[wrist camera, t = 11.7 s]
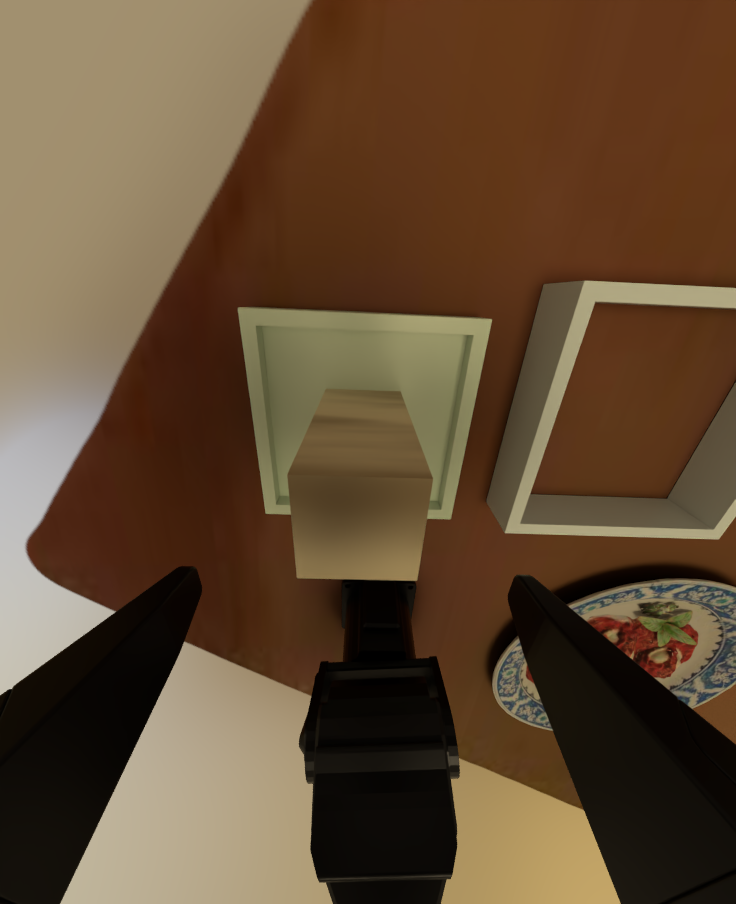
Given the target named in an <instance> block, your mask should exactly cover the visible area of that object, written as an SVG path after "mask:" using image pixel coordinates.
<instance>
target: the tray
mask: <svg viewBox="0 0 736 904" xmlns="http://www.w3.org/2000/svg"><path fill="white" fill-rule="evenodd" d="M238 314H239V322H240V329H241V336H242V344H243V351H244V358H245V366H246V373H247V380H248V388H249V395H250V402H251V410H252V417H253V424H254V432H255V439H256V446H257V454H258V461H259V468H260V476H261V483H262V490H263V498H264V505H265V512H266V514H290V515H291V510H290V499H289V488H288V478H287V474H288V472H289V469H290V467H291V465H292V463H293V461H294V458H295V456H296V454H297V452H298V449H299V447H300V445H301V443H302V441H303V438H304V436H305V434H306V432H307V429H308V427H309V425H310V423H311V421H312V418H313V416H314V414H315V412H316V410H317V407H318V405H319V403H320V401H321V398H322V396H323V394H324V392H325V390H326V389H348V390H376V391H401V394H402V397H403V399H404V402H405V405H406V407H407V410H408V413H409V415H410V418H411V421H412V423H413V426H414V429H415V431H416V434H417V437H418V439H419V442H420V445H421V447H422V450H423V453H424V456H425V458H426V461H427V464H428V466H429V469H430V472H431V474H432V477H433V483H432V490H431V496H430V502H429V509H428V515H427V519H451V516H452V511H453V506H454V501H455V496H456V491H457V487H458V482H459V477H460V472H461V467H462V462H463V458H464V453H465V448H466V443H467V438H468V433H469V429H470V424H471V419H472V414H473V409H474V405H475V400H476V395H477V390H478V385H479V380H480V376H481V371H482V366H483V361H484V356H485V351H486V347H487V342H488V337H489V332H490V327H491V323H492V319H487V318H481V317H463V316H442V315H420V314H398V313H376V312H355V311H333V310H311V309H290V308H268V307H239V308H238Z"/></svg>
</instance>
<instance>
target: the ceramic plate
mask: <svg viewBox="0 0 736 904" xmlns="http://www.w3.org/2000/svg"><path fill="white" fill-rule="evenodd" d="M566 605H568V606H569V607H570V608H571V609H572V610H574V611H575V612H576V613H577V614H578V615H580V616H581V617H582V618H583V619H584V620H586V621H587V622H588V623H589V624H590V625H592V626H593V627H594V628H595V629H596V630H598V631H599V632H600V633H601V634H602V635H604V636H605V637H606V638H607V639H608V640H610V641H611V642H612V643H613V644H614V645H616V646H617V647H618V648H619V649H620V650H622V651H623V652H624V653H625V654H626V655H628V656H629V657H630V658H631V659H633V660H634V661H635V662H636V663H637V664H639V665H640V666H641V667H642V668H643V669H645V670H646V671H647V672H648V673H649V674H651V675H652V676H653V677H654V678H655V679H657V680H658V681H659V682H660V683H661V684H663V685H664V686H665V687H666V688H667V689H669V690H670V691H671V692H672V693H673V694H675V695H676V696H677V698H678V700H682V701H683V702H684V703H686V704H687V705H688V706H689V707H690V708H694V707H697V706H699V705H701V704H703V703H706V702H708V701H709V700H711V699H713V698H714V697H716V696H718V695H719V694H721V693H722V692H724V691H726V690H727V689H729V688H731V687H732V686H733V685H734V684H736V587H734V586H731V585H727V584H724V583H720V582H715V581H710V580H701V579H684V578H676V579H658V580H651V581H644V582H638V583H631V584H626V585H622V586H618V587H614V588H611V589H607V590H604V591H600V592H596V593H593V594H591V595H588V596H586V597H583V598H581V599H578V600H576V601H574V602H571V603H569V604H566ZM492 686H493V692H494V695H495V698H496V700H497V702H498V703H499V705H500V706H501V707H502V708H503V709H504V710H505V711H506V712H507V713H508V714H509V715H511V716H512V717H514V718H516V719H518V720H520V721H522V722H524V723H526V724H529V725H531V726H535V727H539V728H543V729H547V730H552V727H551V725H550V722H549V720H548V717H547V714H546V712H545V709H544V707H543V704H542V702H541V699H540V697H539V694H538V692H537V689H536V687H535V684H534V681H533V679H532V676H531V674H530V671H529V669H528V666H527V663H526V661H525V657H524V654H523V651H522V648H521V644H520V641H519V637H518V636H517V637H516V638H515V639H514V640H513V641H512V642H511V643H510V644H509V646H508V647H507V648H506V649H505V651H504V652H503V653H502V655H501V656H500V658H499V660H498V662H497V664H496V666H495V669H494V672H493V678H492ZM552 731H553V730H552Z"/></svg>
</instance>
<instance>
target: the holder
mask: <svg viewBox="0 0 736 904" xmlns="http://www.w3.org/2000/svg"><path fill="white" fill-rule="evenodd" d="M595 303H604V304H625V305H646V306H667V307H688V308H709V309H730V310H736V288H723V287H703V286H682V285H662V284H642V283H622V282H601V281H575V282H563V283H551V284H544V285H543V288H542V292H541V296H540V300H539V304H538V307H537V311H536V315H535V319H534V322H533V326H532V330H531V334H530V338H529V341H528V345H527V349H526V353H525V356H524V360H523V364H522V368H521V372H520V375H519V379H518V383H517V387H516V391H515V394H514V398H513V402H512V406H511V409H510V413H509V417H508V421H507V425H506V428H505V432H504V436H503V440H502V443H501V447H500V451H499V455H498V459H497V462H496V466H495V470H494V474H493V477H492V481H491V485H490V489H489V493H488V496H487V500H486V502H487V504H488V506H489V507H490V509H491V511H492V512H493V514H494V516H495V517H496V519H497V521H498V523H499V524H500V526H501V528H502V529H503V531H504V533H521V534H555V535H589V536H623V537H658V538H692V539H719V538H720V537H721V536H722V534H723V533H724V531H725V530H726V529H727V527H728V526H729V525H730V523H731V522H732V521H733V519H734V518H735V516H736V382H735V384H734V386H733V387H732V389H731V391H730V392H729V394H728V396H727V397H726V399H725V401H724V403H723V404H722V406H721V408H720V409H719V411H718V413H717V414H716V416H715V418H714V420H713V421H712V423H711V425H710V426H709V428H708V430H707V431H706V433H705V435H704V437H703V438H702V440H701V442H700V443H699V445H698V447H697V448H696V450H695V452H694V454H693V455H692V457H691V459H690V460H689V462H688V464H687V465H686V467H685V469H684V471H683V472H682V474H681V476H680V477H679V479H678V481H677V482H676V484H675V486H674V488H673V489H672V491H671V493H670V494H669V496H668V498H667V499H661V498H630V497H599V496H568V495H537V494H530V493H531V490H532V487H533V484H534V481H535V478H536V475H537V472H538V469H539V466H540V463H541V460H542V457H543V454H544V451H545V448H546V445H547V442H548V440H549V437H550V434H551V431H552V428H553V425H554V422H555V419H556V416H557V413H558V410H559V407H560V404H561V401H562V398H563V395H564V392H565V389H566V386H567V383H568V381H569V378H570V375H571V372H572V369H573V366H574V363H575V360H576V357H577V354H578V351H579V348H580V345H581V342H582V339H583V336H584V333H585V330H586V327H587V325H588V322H589V319H590V316H591V313H592V310H593V307H594V304H595Z"/></svg>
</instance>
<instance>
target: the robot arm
mask: <svg viewBox="0 0 736 904" xmlns="http://www.w3.org/2000/svg"><path fill="white" fill-rule="evenodd" d="M415 592H416V583H415V581H399V580H354V579H344V580H343V582H342V627H343V628H344V629H345V635H344V650H343V662H332V663H328V661H322V662H321V663H320V668H319V672H318V673H317V674H316V676H315V683H314V687H313V692H312V697H311V701H310V706H309V711H308V714H307V717H306V720H305V723H304V726H303V728H302V732H301V734H300V739H299V747H300V749H301V751H302V752H303V754H304V761H305V774H306V780H307V783H308V784H311V783H312V784H313V802H312V827H311V854H312V858H313V863H314V867H315V870H316V875H317V878H318V880H319V882H326V884H327V887H328V890H329V893H330V896H331V899H332V902H333V904H441V900H442V896H443V892H444V887H445V883H446V879H451V877H452V873H453V868H454V862H455V856H456V850H457V838H456V837H457V823H456V816H455V809H454V801H453V793H452V786H451V779H455V778H459V774H460V772H459V771H460V769H459V756H458V748H457V741H456V734H455V729H454V723H453V718H452V714H451V710H450V706H449V702H448V698H447V694H446V691H445V687H444V683H443V679H442V675H441V671H440V668H439V664H438V660H437V657H436V656H431V657H429V658H419V659H416V655H415V648H414V640H413V633H412V626H411V616H412V610H413V604H414V598H415ZM201 593H202V585H201V581H200V578H199V575H198V571H197V569H196V568H195V567H193V566H181V567H178V568H176V569H175V570H173V571H172V572H171V573H169V574H168V575H166V576H165V577H164V578H162V579H161V580H160V581H158V582H157V583H155V584H154V585H153V586H151V587H150V588H148V589H147V590H146V591H144V592H143V593H142V594H140V595H139V596H137V597H136V598H135V599H133V600H132V601H130V602H129V603H128V604H126V605H125V606H124V607H122V608H121V609H119V610H118V611H117V612H115V613H114V614H113V615H111V616H110V617H108V618H107V619H106V620H104V621H103V622H101V623H100V624H99V625H97V626H96V627H95V628H93V629H92V630H91V631H89V632H88V633H86V634H85V635H83V636H82V637H81V638H80V639H78V640H77V641H75V642H74V643H72V644H71V645H70V646H68V647H67V648H66V649H64V650H63V651H61V652H60V653H59V654H57V655H56V656H54V657H53V658H52V659H50V660H49V661H48V662H46V663H45V664H44V665H42V666H41V667H39V668H38V669H37V670H35V671H34V672H32V673H31V674H29V675H28V676H27V677H25V678H24V679H23V680H21V681H20V682H19V683H17V684H16V685H15V686H14V687H13V688H12V689H9V690H7V691H6V692H4V693H3V694H2V695H0V904H60V903H61V900H62V899H63V896H64V894H65V892H66V890H67V888H68V886H69V884H70V882H71V880H72V878H73V876H74V873H75V871H76V869H77V867H78V865H79V863H80V861H81V859H82V857H83V855H84V853H85V850H86V848H87V846H88V844H89V842H90V840H91V838H92V836H93V834H94V832H95V829H96V827H97V825H98V823H99V821H100V819H101V817H102V815H103V813H104V811H105V809H106V806H107V804H108V802H109V800H110V798H111V796H112V794H113V792H114V789H115V788H116V786H117V784H118V781H119V779H120V777H121V775H122V773H123V771H124V769H125V767H126V765H127V762H128V760H129V758H130V756H131V754H132V752H133V750H134V748H135V746H136V744H137V742H138V740H139V737H140V735H141V733H142V731H143V729H144V727H145V725H146V723H147V721H148V719H149V717H150V714H151V712H152V710H153V708H154V706H155V704H156V702H157V700H158V697H159V696H160V694H161V691H162V689H163V687H164V685H165V683H166V681H167V679H168V677H169V675H170V673H171V670H172V668H173V666H174V664H175V662H176V660H177V658H178V655H179V653H180V651H181V648H182V646H183V643H184V640H185V638H186V635H187V632H188V629H189V627H190V624H191V621H192V619H193V616H194V613H195V610H196V608H197V605H198V602H199V600H200V597H201ZM508 602H509V606H510V610H511V613H512V617H513V620H514V623H515V627H516V630H517V634H518V637H519V641H520V644H521V648H522V651H523V654H524V657H525V661H526V663H527V666H528V669H529V671H530V674H531V676H532V679H533V681H534V684H535V687H536V689H537V692H538V694H539V697H540V699H541V702H542V704H543V707H544V709H545V712H546V714H547V717H548V720H549V722H550V725H551V727H552V730H553V732H554V735H555V737H556V740H557V742H558V745H559V748H560V750H561V753H562V755H563V758H564V760H565V763H566V765H567V768H568V770H569V773H570V775H571V778H572V781H573V783H574V786H575V788H576V791H577V793H578V796H579V798H580V801H581V803H582V806H583V809H584V811H585V813H586V816H587V819H588V821H589V824H590V826H591V829H592V831H593V834H594V836H595V839H596V842H597V844H598V847H599V849H600V852H601V854H602V857H603V859H604V862H605V864H606V867H607V870H608V872H609V875H610V877H611V880H612V882H613V885H614V887H615V890H616V892H617V895H618V898H619V900H620V903H621V904H736V744H734V743H733V742H732V741H731V740H730V739H728V738H727V737H726V736H725V735H723V734H722V733H721V732H720V731H718V730H717V729H716V728H715V727H714V726H712V725H711V724H710V723H709V722H707V721H706V720H705V719H704V718H702V717H701V716H700V715H699V714H698V713H696V712H695V711H694V710H693V709H692V708H690V707H689V706H688V705H687V704H686V703H684V702H683V701H682V700H678V698H677V696H676V695H675V694H673V693H672V692H671V691H670V690H669V689H667V688H666V687H665V686H664V685H663V684H661V683H660V682H659V681H658V680H657V679H655V678H654V677H653V676H652V675H651V674H649V673H648V672H647V671H646V670H645V669H643V668H642V667H641V666H640V665H639V664H637V663H636V662H635V661H634V660H633V659H631V658H630V657H629V656H628V655H626V654H625V653H624V652H623V651H622V650H620V649H619V648H618V647H617V646H616V645H614V644H613V643H612V642H611V641H610V640H608V639H607V638H606V637H605V636H604V635H602V634H601V633H600V632H599V631H598V630H596V629H595V628H594V627H593V626H592V625H590V624H589V623H588V622H587V621H586V620H584V619H583V618H582V617H581V616H580V615H578V614H577V613H576V612H575V611H574V610H572V609H571V608H570V607H569V606H568V605H566V604H565V603H564V602H563V601H562V600H560V599H559V598H558V597H557V596H556V595H554V594H553V593H552V592H551V591H550V590H548V589H547V588H546V587H545V586H544V585H542V584H541V583H540V582H539V581H538V580H536V579H535V578H534V577H532V576H530V575H516V576H515V577H514V579H513V582H512V585H511V587H510V590H509V593H508Z"/></svg>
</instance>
